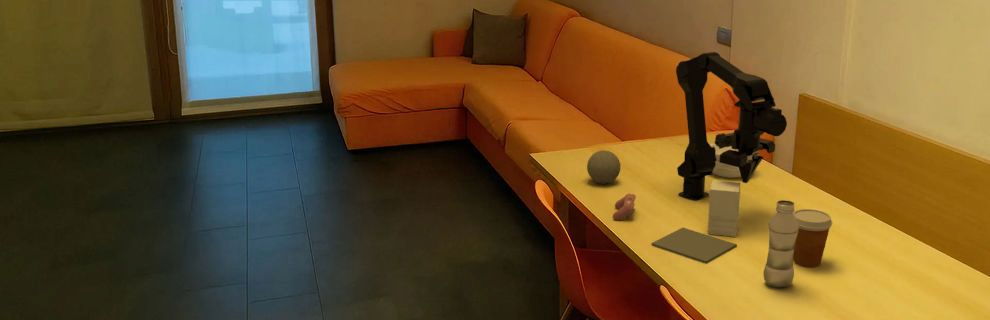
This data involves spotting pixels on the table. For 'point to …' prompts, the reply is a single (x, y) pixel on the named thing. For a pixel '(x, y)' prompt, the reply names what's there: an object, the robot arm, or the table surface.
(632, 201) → the video game controller
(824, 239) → the disposable coffee cup
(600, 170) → the decorative ball
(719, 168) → the paper bowls
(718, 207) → the supplement box
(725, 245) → the mat
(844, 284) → the table surface
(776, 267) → the plastic bottle
